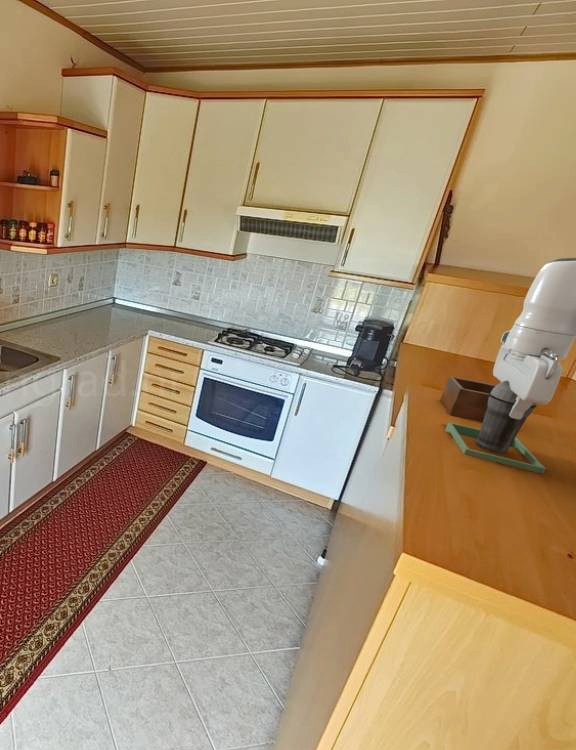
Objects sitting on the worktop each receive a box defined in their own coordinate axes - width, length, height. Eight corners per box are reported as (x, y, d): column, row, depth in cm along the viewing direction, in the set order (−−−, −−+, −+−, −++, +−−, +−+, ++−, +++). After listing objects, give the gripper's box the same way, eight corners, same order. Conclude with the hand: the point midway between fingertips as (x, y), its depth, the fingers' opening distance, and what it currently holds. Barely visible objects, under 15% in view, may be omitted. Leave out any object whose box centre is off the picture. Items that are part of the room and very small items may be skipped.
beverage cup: (468, 452, 99) (509, 357, 92) (465, 440, 104) (503, 351, 98) (514, 464, 95) (560, 367, 88) (508, 452, 101) (551, 360, 94)
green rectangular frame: (512, 448, 104) (517, 437, 104) (540, 480, 91) (546, 468, 90) (444, 432, 109) (448, 421, 108) (460, 460, 96) (465, 449, 95)
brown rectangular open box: (497, 412, 127) (508, 387, 124) (513, 429, 116) (525, 402, 114) (439, 400, 132) (449, 375, 129) (449, 414, 121) (460, 388, 119)
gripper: (584, 359, 82) (547, 433, 87) (539, 338, 99) (510, 400, 104) (536, 351, 84) (503, 423, 89) (500, 331, 102) (474, 392, 106)
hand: (507, 411), depth 97 cm, fingers closed on beverage cup, 7 cm apart
